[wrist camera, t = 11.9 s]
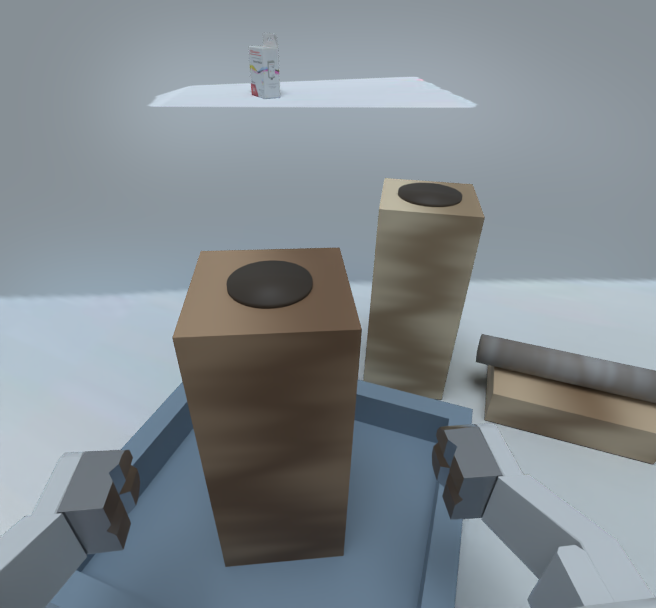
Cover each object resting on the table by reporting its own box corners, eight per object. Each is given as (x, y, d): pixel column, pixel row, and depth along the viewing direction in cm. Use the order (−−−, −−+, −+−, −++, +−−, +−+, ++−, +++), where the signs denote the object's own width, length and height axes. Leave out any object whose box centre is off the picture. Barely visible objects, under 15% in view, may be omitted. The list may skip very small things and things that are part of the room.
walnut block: (225, 566, 16) (171, 332, 10) (235, 463, 20) (199, 246, 14) (343, 555, 17) (361, 324, 10) (331, 457, 20) (339, 243, 14)
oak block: (362, 389, 25) (379, 205, 19) (369, 341, 29) (385, 175, 22) (441, 399, 24) (485, 214, 18) (437, 349, 28) (473, 181, 22)
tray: (31, 611, 15) (3, 578, 14) (222, 375, 26) (217, 343, 24) (422, 814, 12) (436, 796, 10) (462, 443, 22) (472, 409, 20)
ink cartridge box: (250, 94, 119) (246, 32, 111) (266, 93, 121) (263, 32, 113) (264, 99, 113) (260, 33, 105) (281, 98, 116) (278, 33, 107)
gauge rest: (465, 414, 23) (479, 365, 21) (471, 358, 27) (484, 312, 25) (676, 470, 21) (716, 420, 19) (650, 399, 25) (680, 351, 23)
